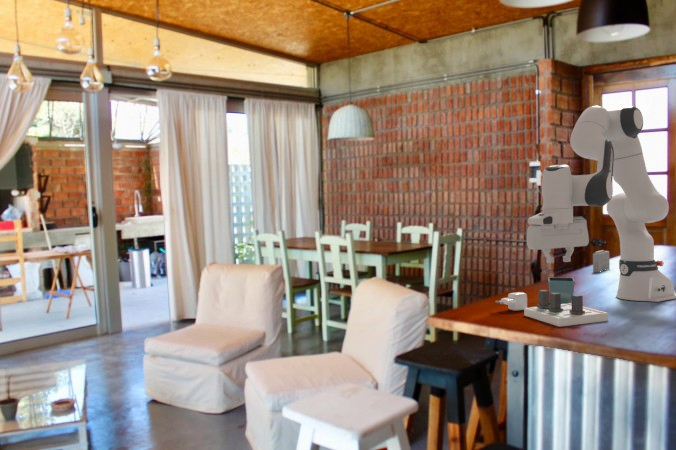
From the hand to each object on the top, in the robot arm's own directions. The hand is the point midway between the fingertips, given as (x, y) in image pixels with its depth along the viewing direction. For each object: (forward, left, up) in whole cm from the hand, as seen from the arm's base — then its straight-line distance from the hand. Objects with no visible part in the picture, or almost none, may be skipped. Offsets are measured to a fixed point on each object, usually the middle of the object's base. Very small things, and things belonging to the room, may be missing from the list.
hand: (558, 262), depth 181 cm
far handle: (-3, -12, -16) cm, 21 cm away
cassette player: (-89, -85, -19) cm, 124 cm away
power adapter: (+2, -24, -19) cm, 31 cm away
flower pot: (-20, -26, -19) cm, 38 cm away
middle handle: (-3, -6, -16) cm, 18 cm away
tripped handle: (-6, 0, -16) cm, 18 cm away
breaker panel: (-6, -6, -19) cm, 21 cm away
